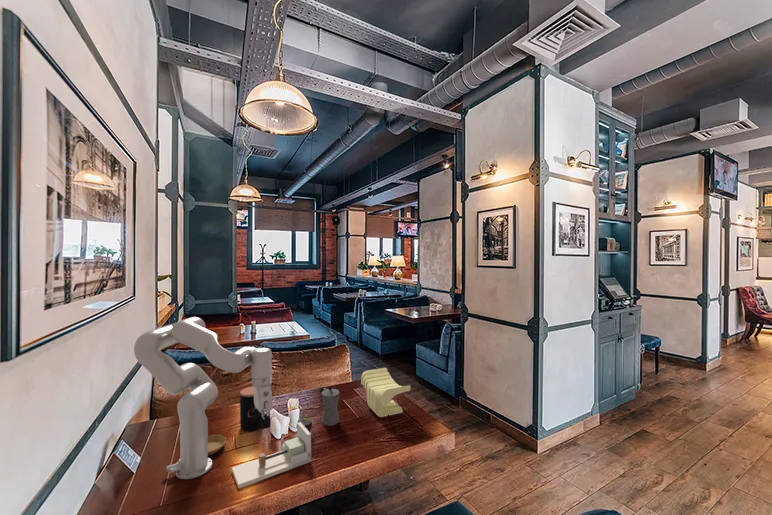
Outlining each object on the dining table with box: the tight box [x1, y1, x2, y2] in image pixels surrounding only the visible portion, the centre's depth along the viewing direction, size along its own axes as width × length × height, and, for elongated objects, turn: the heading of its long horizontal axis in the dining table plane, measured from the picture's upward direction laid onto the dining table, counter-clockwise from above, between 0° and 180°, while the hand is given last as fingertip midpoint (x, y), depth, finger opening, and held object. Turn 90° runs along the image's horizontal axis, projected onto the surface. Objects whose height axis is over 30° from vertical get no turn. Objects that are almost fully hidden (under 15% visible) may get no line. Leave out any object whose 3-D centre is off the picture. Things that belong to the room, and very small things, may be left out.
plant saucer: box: [208, 434, 227, 456], centre depth 147 cm, size 15×15×3 cm
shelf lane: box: [231, 422, 312, 489], centre depth 136 cm, size 28×12×12 cm, turn 125°
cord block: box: [258, 436, 304, 467], centre depth 138 cm, size 17×7×5 cm, turn 125°
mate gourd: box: [296, 409, 313, 433], centre depth 158 cm, size 8×8×15 cm
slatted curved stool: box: [360, 367, 411, 418], centre depth 185 cm, size 30×16×18 cm, turn 25°
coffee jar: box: [239, 386, 263, 432], centre depth 167 cm, size 11×11×18 cm
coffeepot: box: [320, 386, 341, 427], centre depth 173 cm, size 15×9×18 cm, turn 44°
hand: (262, 423), depth 134 cm, fingers open, 9 cm apart
